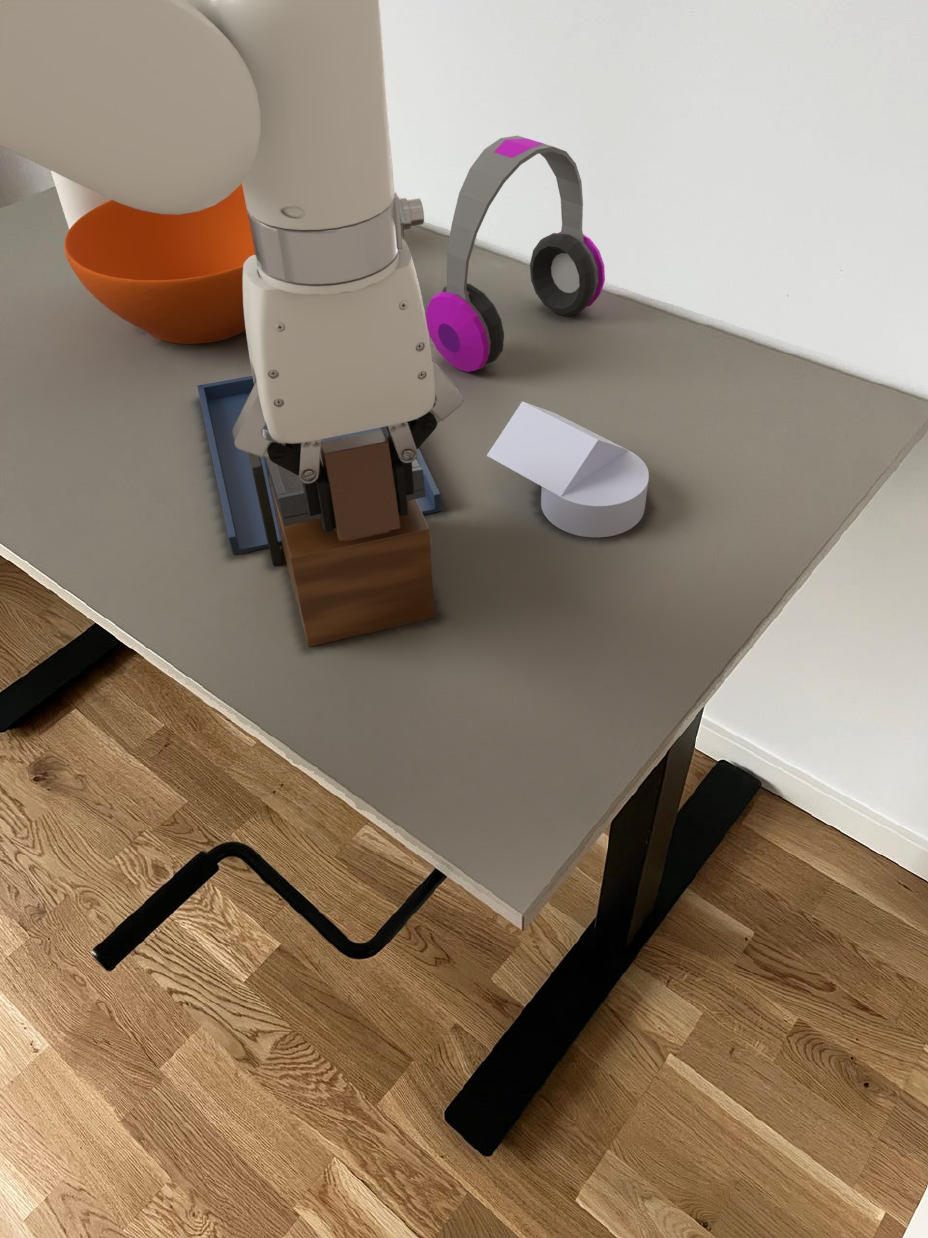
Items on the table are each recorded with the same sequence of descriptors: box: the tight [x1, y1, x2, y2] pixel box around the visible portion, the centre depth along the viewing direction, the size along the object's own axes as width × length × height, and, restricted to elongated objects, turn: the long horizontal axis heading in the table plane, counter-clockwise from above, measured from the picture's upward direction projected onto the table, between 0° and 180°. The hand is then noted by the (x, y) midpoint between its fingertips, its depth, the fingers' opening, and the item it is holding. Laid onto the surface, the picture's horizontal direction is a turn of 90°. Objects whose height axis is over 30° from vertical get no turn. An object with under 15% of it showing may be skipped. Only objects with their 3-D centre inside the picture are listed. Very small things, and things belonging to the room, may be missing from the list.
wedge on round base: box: [486, 401, 650, 538], centre depth 85 cm, size 9×7×13 cm
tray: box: [196, 375, 442, 555], centre depth 92 cm, size 25×18×2 cm
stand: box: [248, 453, 436, 648], centre depth 76 cm, size 12×12×10 cm
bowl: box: [63, 183, 255, 345], centre depth 109 cm, size 25×25×10 cm
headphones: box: [425, 135, 606, 373], centre depth 100 cm, size 21×9×20 cm, turn 136°
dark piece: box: [263, 427, 426, 541], centre depth 68 cm, size 18×10×7 cm, turn 17°
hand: (361, 508), depth 64 cm, fingers closed on dark piece, 4 cm apart
